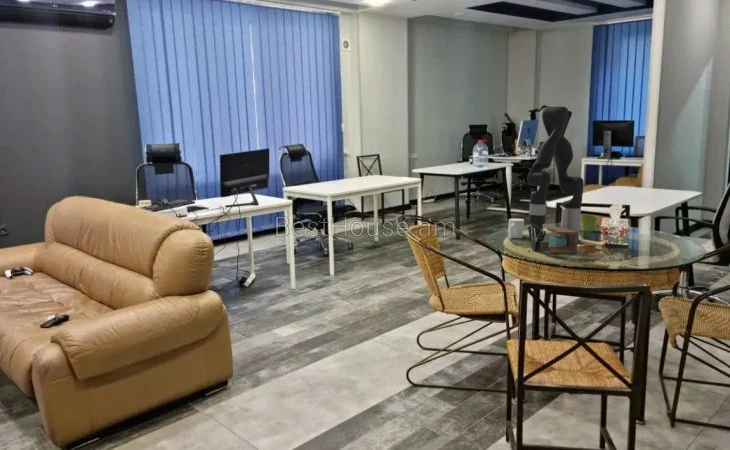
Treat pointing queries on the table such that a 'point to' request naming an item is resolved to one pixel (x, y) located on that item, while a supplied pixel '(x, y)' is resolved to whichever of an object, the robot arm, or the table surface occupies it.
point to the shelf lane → (565, 233)
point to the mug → (515, 228)
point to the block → (552, 242)
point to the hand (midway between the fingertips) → (535, 248)
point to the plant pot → (588, 222)
